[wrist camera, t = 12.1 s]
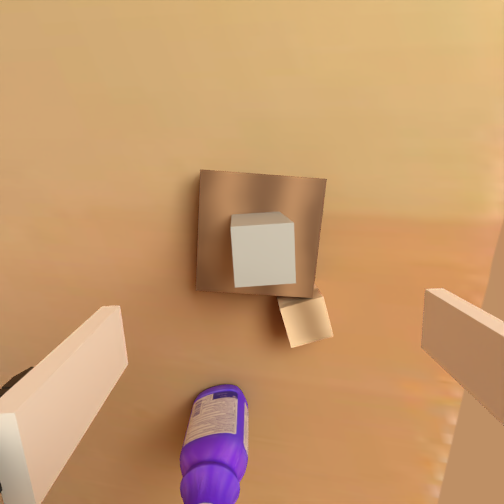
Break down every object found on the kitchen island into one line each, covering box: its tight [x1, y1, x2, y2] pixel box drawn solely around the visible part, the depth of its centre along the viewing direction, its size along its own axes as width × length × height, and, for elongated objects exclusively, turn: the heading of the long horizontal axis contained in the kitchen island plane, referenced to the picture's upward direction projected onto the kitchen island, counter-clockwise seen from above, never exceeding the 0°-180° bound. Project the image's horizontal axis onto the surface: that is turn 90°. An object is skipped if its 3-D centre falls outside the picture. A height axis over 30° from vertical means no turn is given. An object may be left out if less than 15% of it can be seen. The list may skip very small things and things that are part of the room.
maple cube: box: [277, 283, 333, 348], centre depth 40 cm, size 5×5×5 cm
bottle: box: [180, 384, 248, 504], centre depth 36 cm, size 7×6×17 cm
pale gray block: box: [230, 212, 296, 288], centre depth 31 cm, size 5×5×9 cm
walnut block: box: [196, 170, 327, 298], centre depth 38 cm, size 13×13×5 cm
